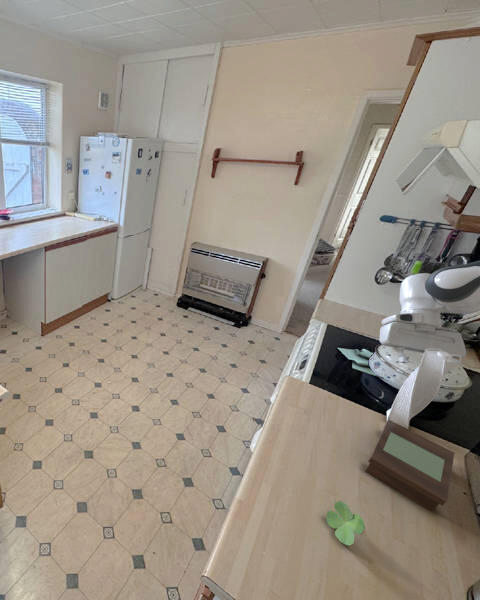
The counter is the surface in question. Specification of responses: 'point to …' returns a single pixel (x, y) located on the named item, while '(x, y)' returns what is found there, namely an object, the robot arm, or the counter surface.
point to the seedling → (345, 523)
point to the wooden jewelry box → (412, 465)
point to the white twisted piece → (421, 385)
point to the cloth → (359, 359)
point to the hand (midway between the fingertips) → (422, 366)
